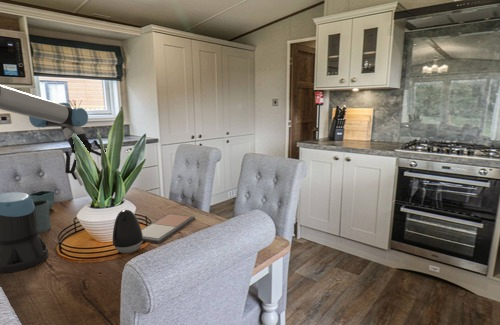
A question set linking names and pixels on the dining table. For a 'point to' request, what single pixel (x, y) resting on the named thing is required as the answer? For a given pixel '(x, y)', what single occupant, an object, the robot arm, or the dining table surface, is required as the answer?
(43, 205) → the teal cup
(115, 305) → the dining table surface
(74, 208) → the dining table surface
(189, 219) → the board
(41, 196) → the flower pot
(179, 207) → the dining table surface
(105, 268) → the dining table surface
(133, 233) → the black rounded piece
